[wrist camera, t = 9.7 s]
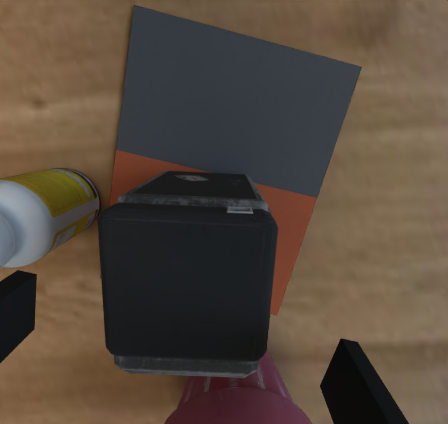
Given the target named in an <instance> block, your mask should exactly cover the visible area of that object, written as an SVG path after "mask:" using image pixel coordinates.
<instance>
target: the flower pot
mask: <svg viewBox="0 0 448 424" xmlns="http://www.w3.org/2000/svg"><path fill="white" fill-rule="evenodd" d="M164 424H312V423H311V421H310V419H309V418H308V417H307V415H306V414H305V413H304V412H303V411H302V410H301V409H300V408H299V407H298V406H297V405H296V404H294V403H293V400H292V398H291V396H290V394H289V392H288V390H287V388H286V386H285V384H284V382H283V380H282V378H281V376H280V374H279V372H278V370H277V368H276V366H275V364H274V362H273V360H272V358H271V356H270V354H269V352H268V351H267V350H266V353H265V354H264V356H263V357H262V358H261V359H260V360H259V365H258V370H257V371H255V372H254V373H252V374H250V375H248V376H246V377H244V378H238V377H213V376H190V377H189V379H188V382H187V384H186V387H185V389H184V392H183V394H182V397H181V400H180V402H179V405H178V407H177V409H176V410H175V411H174V412H173V413H172V414H171V415H170V416H169V417H168V419H167V420H166V422H165V423H164Z"/></svg>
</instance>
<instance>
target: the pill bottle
mask: <svg viewBox="0 0 448 424" xmlns="http://www.w3.org/2000/svg"><path fill="white" fill-rule="evenodd" d="M98 211H99V197H98V194H97V191H96V189H95V187H94V186H93V184H92V183H91V182H90V181H89V180H88V179H87V178H86V177H85V176H84V175H82V174H81V173H79V172H77V171H74V170H71V169H66V168H55V169H49V170H44V171H39V172H34V173H28V174H23V175H17V176H12V177H7V178H2V179H0V268H2V267H9V268H12V267H21V266H25V265H29V264H31V263H33V262H35V261H37V260H39V259H40V258H42V257H43V256H45V255H46V254H48V253H49V252H51V251H52V250H54V249H55V248H57V247H58V246H60V245H61V244H63V243H64V242H66V241H67V240H69V239H70V238H72V237H73V236H75V235H76V234H78V233H79V232H81V231H82V230H84V229H85V228H87V227H88V226H89V225H91V224H92V223H93V221H94V220H95V218H96V217H97V215H98Z"/></svg>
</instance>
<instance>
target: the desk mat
mask: <svg viewBox="0 0 448 424" xmlns="http://www.w3.org/2000/svg"><path fill="white" fill-rule="evenodd" d="M361 68H362V67H360V66H356V65H352V64H349V63H345V62H341V61H338V60H334V59H330V58H327V57H323V56H319V55H316V54H312V53H308V52H305V51H301V50H297V49H294V48H290V47H286V46H283V45H279V44H275V43H272V42H268V41H264V40H261V39H257V38H253V37H250V36H246V35H242V34H239V33H235V32H231V31H228V30H224V29H220V28H217V27H213V26H209V25H205V24H202V23H198V22H194V21H191V20H187V19H183V18H180V17H176V16H172V15H169V14H165V13H161V12H158V11H154V10H150V9H147V8H143V7H139V6H136V5H134V10H133V18H132V26H131V34H130V42H129V50H128V58H127V66H126V74H125V83H124V91H123V99H122V107H121V115H120V123H119V131H118V139H117V147H116V155H115V163H114V171H113V179H112V187H111V195H110V203H109V207H110V206H111V205H114V204H116V203H118V198H119V196H121V195H123V194H124V193H126V192H128V191H130V190H131V189H133V188H135V187H137V186H139V185H140V184H142V183H144V182H146V181H148V180H149V179H151V178H153V177H155V176H156V175H158V174H160V173H162V172H164V171H167V170H169V171H181V172H202V173H223V174H244V175H245V174H247V175H249V176H250V178H251V179H252V181H253V182H254V184H255V185H256V187H257V189H258V190H259V192H260V193H261V195H262V196H263V198H264V200H265V201H266V203H267V204H268V208H270V209H271V215H272V216H273V218H274V219H275V221H276V223H277V226H278V237H277V247H276V258H275V268H274V278H273V288H272V298H271V309H270V314H273V315H277V313H278V310H279V307H280V305H281V302H282V299H283V296H284V293H285V290H286V287H287V284H288V281H289V278H290V275H291V272H292V270H293V267H294V264H295V261H296V258H297V255H298V252H299V249H300V246H301V243H302V240H303V237H304V234H305V232H306V229H307V226H308V223H309V220H310V217H311V214H312V211H313V208H314V205H315V202H316V199H317V196H318V194H319V191H320V188H321V185H322V182H323V179H324V176H325V173H326V170H327V167H328V164H329V161H330V158H331V156H332V153H333V150H334V147H335V144H336V141H337V138H338V135H339V132H340V129H341V126H342V123H343V120H344V118H345V115H346V112H347V109H348V106H349V103H350V100H351V97H352V94H353V91H354V88H355V85H356V82H357V80H358V77H359V74H360V71H361ZM100 278H101V276H100ZM101 279H102V278H101Z"/></svg>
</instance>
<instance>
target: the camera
mask: <svg viewBox="0 0 448 424" xmlns="http://www.w3.org/2000/svg"><path fill="white" fill-rule="evenodd" d="M98 231H99V247H100V263H101V278H102V294H103V310H104V326H105V342H106V347H107V349H108V350H109V352H110V353H111V354H113V355H114V362H115V365H116V366H117V367H118V368H120V369H121V370H124V371H126V372H128V373H134V374H160V375H187V376H213V377H238V378H244V377H246V376H248V375H250V374H252V373H254V372H255V371H257V370H258V365H259V360H260V359H261V358H262V357H263V356H264V354H265V353H266V350H267V339H268V329H269V319H270V309H271V298H272V288H273V278H274V268H275V258H276V247H277V237H278V226H277V223H276V221H275V219H274V218H273V216H272V215H271V209H270V208H268V204H267V203H266V201H265V200H264V198H263V196H262V195H261V193H260V192H259V190H258V189H257V187H256V185H255V184H254V182H253V181H252V179H251V178H250V176H249V175H247V174H245V175H244V174H223V173H202V172H181V171H169V170H167V171H164V172H162V173H160V174H158V175H156V176H155V177H153V178H151V179H149V180H148V181H146V182H144V183H142V184H140V185H139V186H137V187H135V188H133V189H131V190H130V191H128V192H126V193H124V194H123V195H121V196H119V198H118V203H116V204H114V205H111V206H110V207H108V208H106V209H105V210H104V211H102V212H101V213H100V215H99V218H98Z"/></svg>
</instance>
